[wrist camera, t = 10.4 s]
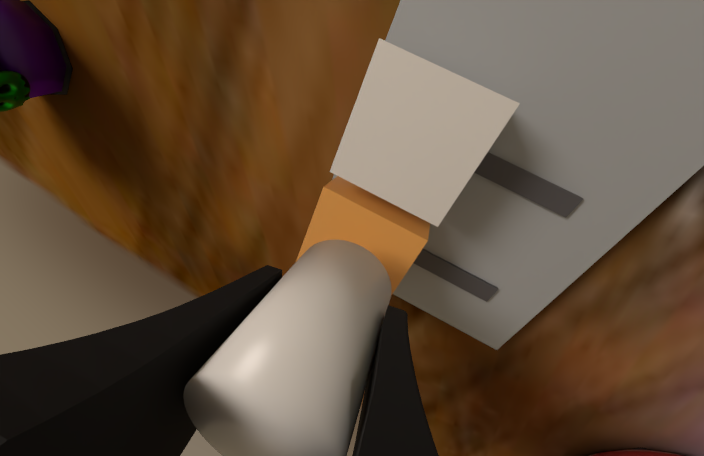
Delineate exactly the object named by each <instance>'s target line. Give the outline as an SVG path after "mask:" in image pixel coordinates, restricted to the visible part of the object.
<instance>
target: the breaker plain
mask: <svg viewBox="0 0 704 456" xmlns="http://www.w3.org/2000/svg"><path fill="white" fill-rule="evenodd" d="M519 104H520V103H518V102H516V101H513V100H511V99H509V98H507V97H505V96H503V95H501V94H498V93H496V92H494V91H492V90H490V89H488V88H485V87H483V86H481V85H479V84H477V83H475V82H473V81H470V80H468V79H466V78H464V77H462V76H460V75H457V74H455V73H453V72H451V71H449V70H447V69H445V68H442V67H440V66H438V65H436V64H434V63H432V62H430V61H427V60H425V59H423V58H421V57H419V56H417V55H414V54H412V53H410V52H408V51H406V50H404V49H402V48H399V47H397V46H395V45H393V44H391V43H389V42H386V41H384V40H382V39H380V38H379V40H378V43H377V46H376V49H375V51H374V54H373V57H372V59H371V62H370V65H369V67H368V70H367V73H366V75H365V78H364V81H363V84H362V86H361V89H360V92H359V94H358V97H357V100H356V102H355V105H354V108H353V111H352V113H351V116H350V119H349V121H348V124H347V127H346V129H345V132H344V135H343V137H342V140H341V143H340V146H339V148H338V151H337V154H336V156H335V159H334V162H333V164H332V167H331V170H330V172H331V173H333V174H335V175H337V176H339V177H341V178H343V179H345V180H347V181H349V182H351V183H353V184H355V185H357V186H359V187H361V188H362V189H364V190H366V191H368V192H370V193H372V194H374V195H376V196H378V197H380V198H382V199H384V200H386V201H388V202H390V203H392V204H394V205H396V206H398V207H400V208H401V209H403V210H405V211H407V212H409V213H411V214H413V215H415V216H417V217H419V218H421V219H423V220H425V221H427V222H429V223H431V224H433V225H435V226H437V227H438V226H439V224H440V223H441V221H442V220H443V218H444V217H445V215H446V214H447V212H448V211H449V209H450V208H451V206H452V205H453V203H454V202H455V200H456V199H457V197H458V196H459V194H460V193H461V191H462V190H463V188H464V187H465V185H466V184H467V182H468V181H469V179H470V178H471V176H472V175H473V173H474V172H475V170H476V169H477V167H478V166H479V164H480V163H481V161H482V160H483V158H484V157H485V155H486V154H487V152H488V151H489V149H490V148H491V146H492V145H493V143H494V142H495V140H496V139H497V137H498V136H499V134H500V133H501V131H502V130H503V128H504V127H505V125H506V124H507V122H508V121H509V119H510V118H511V116H512V115H513V113H514V112H515V110H516V109H517V107H518V106H519Z"/></svg>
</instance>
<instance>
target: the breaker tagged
mask: <svg viewBox="0 0 704 456" xmlns="http://www.w3.org/2000/svg"><path fill="white" fill-rule="evenodd" d="M429 229H430V223H429V222H427V221H425V220H423V219H421V218H419V217H417V216H415V215H413V214H411V213H409V212H407V211H405V210H403V209H401V208H400V207H398V206H396V205H394V204H392V203H390V202H388V201H386V200H384V199H382V198H380V197H378V196H376V195H374V194H372V193H370V192H368V191H366V190H364V189H362V188H361V187H359V186H357V185H355V184H353V183H351V182H349V181H347V180H345V179H343V178H341V177H339V176H337V177H336V178H334V179H333V180H332V181H330V182H329V183H328V184H327V185H325V186H324V187H323V190H322V193H321V195H320V198H319V201H318V203H317V206H316V209H315V212H314V214H313V217H312V220H311V222H310V225H309V228H308V231H307V233H306V236H305V239H304V241H303V244H302V247H301V249H300V252H299V255H298V258H297V260H298V259H299V258H300V257H301V256H302V255H303V254H304V253H305V252H306V251H307V250H308V249H309V248H310V247H311V246H313V245H314V244H316V243H318V242H321V241H325V240H345V241H349V242H352V243H355V244H358V245H360V246H362V247H364V248H365V249H367V250H368V251H370V252H371V253H372V254H373V255H375V256H376V257H377V258H378V259H379V260H380V262H381V263H382V264H383V266H384V267H385V269H386V271H387V273H388V275H389V278H390V281H391V288H392V289H391V296H392V294H393V293H394V291H395V290H396V288H397V286H398V285H399V283H400V282H401V280H402V279H403V277H404V276H405V274H406V273H407V271H408V270H409V268H410V267H411V265H412V264H413V262H414V261H415V259H416V258H417V256H418V255H419V253H420V252H421V250H422V249H423V247H424V246H425V244H426V243H427V241H428V237H429ZM297 260H296V262H297Z"/></svg>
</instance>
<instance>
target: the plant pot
mask: <svg viewBox="0 0 704 456" xmlns="http://www.w3.org/2000/svg"><path fill="white" fill-rule="evenodd" d="M589 456H683V455H678V454H673V453H667V452H661V451H651V450H648V449H646V448H637V449H635V450H631V449H630V450H618V451H609V452H603V453H596V454H592V455H589Z"/></svg>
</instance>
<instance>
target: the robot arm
mask: <svg viewBox="0 0 704 456" xmlns="http://www.w3.org/2000/svg"><path fill="white" fill-rule="evenodd" d="M281 278H282V270H281V269H278V268H275V267H272V266H269V265H267V266H265V267H262V268H260V269H258V270H256V271H254V272H252V273H250V274H248V275H246V276H244V277H242V278H240V279H238V280H236V281H234V282H232V283H230V284H227V285H225V286H223V287H221V288H219V289H217V290H215V291H213V292H210V293H208V294H206V295H203V296H201V297H199V298H196V299H194V300H192V301H190V302H187V303H185V304H183V305H180V306H178V307H175V308H173V309H170V310H167V311H165V312H162V313H159V314H156V315H153V316H150V317H148V318H145V319H142V320H139V321H136V322H133V323H129V324H126V325H123V326H119V327H116V328H112V329H109V330H106V331H102V332H99V333H96V334H91V335H88V336H84V337H80V338H76V339H72V340H68V341H64V342H60V343H55V344H51V345H46V346H42V347H38V348H33V349H28V350H23V351H18V352H13V353H8V354H2V355H0V456H180V455H181V453H182V452H183V450H184V449H185V447H186V445H187V444H188V442H189V441H190V439H191V437H192V436H193V434H194V433H195V431H196V429H197V428H196V427H195V426H194V424H193V423H192V421H191V419H190V417H189V415H188V413H187V411H186V408H185V405H184V398H183V394H184V389H185V386H186V384H187V383H188V382H189V380H190V379H191V378H192V377H193V376H194V375H195V374H196V373H197V371H198V370H199V369H200V368H201V367H202V366H203V365H204V364H205V363H206V361H207V360H208V359H209V358H210V357H211V356H212V355H213V354H214V353H215V351H216V350H217V349H218V348H219V347H220V346H221V345H222V344H223V343H224V341H225V340H226V339H227V338H228V337H229V336H230V335H231V334H232V333H233V331H234V330H235V329H236V328H237V327H238V326H239V325H240V324H241V323H242V322H243V320H244V319H245V318H246V317H247V316H248V315H249V314H250V313H251V312H252V310H253V309H254V308H255V307H256V306H257V305H258V304H259V303H260V302H261V300H262V299H263V298H264V297H265V296H266V295H267V294H268V293H269V292H270V290H271V289H272V288H273V287H274V286H275V285H276V284H277V283H278V282H279V280H280V279H281ZM407 316H408V315H407V313H406V311H404V310H401V309H398V308H395V307H392V306H389V305H388V306H387V310H386V313H385V317H384V320H383V324H382V327H381V331H380V335H379V338H378V342H377V347H376V351H375V355H374V359H373V363H372V366H371V370H370V373H369V377H368V381H367V384H366V388H365V393H364V399H363V404H362V410H361V415H360V420H359V426H358V431H357V436H356V441H355V446H354V451H353V455H352V456H439V455H438V453H437V450H436V447H435V444H434V441H433V438H432V435H431V432H430V428H429V425H428V422H427V419H426V415H425V412H424V408H423V405H422V401H421V397H420V393H419V389H418V385H417V381H416V376H415V372H414V366H413V361H412V356H411V350H410V344H409V336H408V323H407Z"/></svg>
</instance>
